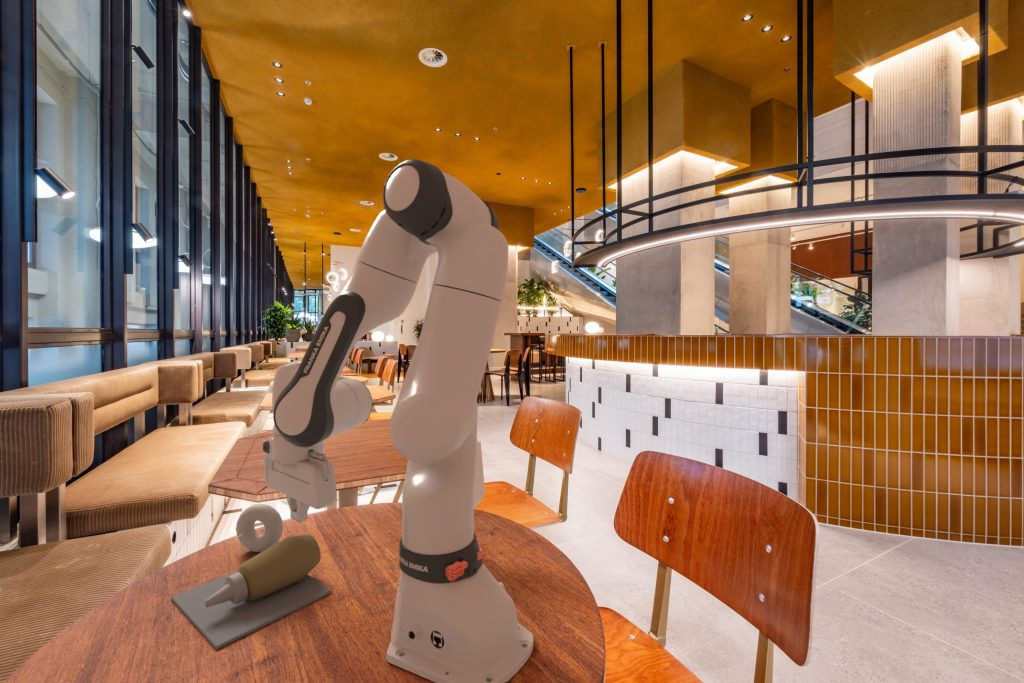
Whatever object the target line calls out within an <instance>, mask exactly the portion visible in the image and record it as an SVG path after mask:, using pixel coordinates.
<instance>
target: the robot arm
mask: <svg viewBox="0 0 1024 683" xmlns="http://www.w3.org/2000/svg"><path fill="white" fill-rule="evenodd" d="M382 204H383V208H384V209H383V210H382V211H381V212H379V214H378V215H377V217H376V218H375V220H374V221H373V223H372V224H371V226H370V229H369V230H368V232H367V234H366V236H365V238H364V240H363V242H362V245H361V247H360V249H359V251H358V254H357V257H356V260H355V263H354V266H353V268H352V271H351V273H350V275H349V276H348V279H347V280H346V282H345V284H344V286H343V288H342V289H341V290H340V292H339V294H337V296H336V297H335V298H334V299H333V300H332V302H331V303H330V304H329V306H328V307H327V309H326V311H325V312H324V314H323V315H322V318H321V320H320V322H319V324H318V326H317V328H316V330H315V332H314V335H313V337H312V339H311V341H310V343H309V345H308V347H307V350H306V351H305V353H304V355H303V358H302V360H299V361H298V360H296V361H290V362H286V363H283V364H282V365H280V366H278V367H277V369H276V371H275V373H274V374H275V375H274V377H273V382H272V392H271V393H272V397H271V402H272V403H271V407H272V408H271V409H272V415H273V416H272V417H273V423H274V424H273V427H272V432H271V434H272V436H271V438H267V439H265V440H263V441H261V451H262V452H263V453H264V455H263V472H264V473H263V474H264V475H263V476H264V481H265V484H266V486H267V487H268V488H270V489H273V490H274V491H277V492H279V493H280V494H283V495H285V496H286V502H287V505H288V508H289V510H290V516H289V517H290V519H292V520H294V521H295V522H298V523H303V522H306V521H307V520H308V514H309V513H308V512H309V510H310V507H311V508H314V509H316V510H320V509H325V508H326V507H329V506H332V505H334V504H335V502H336V500H337V486H336V485H337V484H336V474H335V469H334V466H333V464H332V463H331V462H330V460H328V457H327V455H326V454H325V441H326V439H328V438H331V437H334V436H336V435H340V434H342V433H345V432H347V431H348V432H349V431H350V430H352V429H355V428H358V427H359V426H362V425H363V424H364V423H366V422H367V420H368V419H369V418H370V416H371V415H372V411H373V397H372V393H371V391H370V389H369V388H368V387H367V385H366V384H365V383H364V382H362V381H360V380H359V379H355V378H350V377H347V376H344V375H342V373H343V370H344V368H345V366H346V363H347V362H348V359H349V358H350V356H351V353H352V351H353V349H354V348H355V346H356V345H357V343H358V342H359V341H360V340H361V339H362V338H363V337H364V336H366V335H367V334H368V333H370V332H371V331H373V330H375V329H377V328H379V327H380V326H382V325H384V324H387V323H390V322H391V321H394V320H395V319H398V318H399V317H400V316H401V315H402V314H404V312H405V310H406V309H407V307H408V306H409V305H410V303H411V300H412V299H413V296H414V295H415V291H416V289H417V286H418V282H419V280H420V278H421V274H422V271H423V268H424V267H425V264H426V261H427V260H428V258H429V257H430V256H431V255H433V254H435V253H436V252H437V257H438V259H437V266H436V270H435V274H434V278H433V282H432V286H431V290H430V294H429V298H428V303H427V306H426V311H425V315H424V319H423V324H422V327H421V331H420V336H419V338H418V341H417V345H416V346H415V349H414V352H413V354H412V357H411V360H410V363H409V365H408V367H407V370H406V373H405V377H404V379H403V383H402V385H401V388H400V392H399V393H398V394H399V395H398V398H397V401H396V404H395V406H394V409H393V411H392V413H391V416H390V419H389V427H388V431H389V437H390V440H391V443H392V445H393V447H394V448H395V450H396V451H397V452H398V453H399V455H401V456H402V457H403V458H404V459H406V460H407V465H406V470H405V471H406V472H405V477H404V483H403V486H402V492H401V494H402V496H401V498H402V499H401V500H402V504H401V505H402V506H401V508H402V510H401V511H402V513H401V515H402V520H401V521H402V523H401V524H402V525H401V526H402V528H401V532H402V533H401V534H402V536H401V538H400V540H399V549H398V554H397V555H398V565H399V569H400V578H399V582H398V587H397V591H396V593H395V594H396V595H395V603H394V605H395V606H394V612H393V622H392V627H391V630H390V642H389V644H388V647H387V651H386V657H385V659H386V661H387V663H389V664H392V665H394V666H396V667H398V668H400V669H402V670H405V671H407V672H410V673H413V674H415V675H417V676H420V677H421V678H425V679H427V680H429V681H431V682H434V683H505V682H506V683H508V682H509V681H510V680H511V679H512V677H514V676H515V675H516V674H518V672H519V671H520V670H521V669H522V667H524V665H525V664H526V663H527V661H529V658H530V657H531V654H532V652H533V650H534V646H535V645H534V644H535V643H534V642H535V640H534V634H533V633H532V632H531V631H530V630H529V629H527V628H526V627H524V626H523V625H522V624H521V623H519V621H518V612H517V608H516V604H515V602H514V600H513V598H512V597H511V596H510V595H509V594H508V593H507V590H506V586H505V584H504V583H503V582H500V581H498V580H497V579H496V578H495V577H494V576H493V574H492V573H491V571H490V570H489V569H487V568H488V567H486V565H484V563H483V561H484V560H483V558H484V557H487V555H488V553H486V552H487V551H488V547H484V548H483V549H481V548H480V545H479V541H478V538H477V536H476V533H475V532H474V531H475V530H474V529H475V526H474V525H475V520H474V518H475V507H474V478H475V461H476V441H477V439H478V438H477V437H478V412H479V410H478V408H479V406H478V397H479V393H480V389H481V385H482V382H483V378H484V374H485V370H486V367H487V363H488V361H489V357H490V353H491V348H492V345H493V340H494V337H495V336H494V335H495V333H496V328H497V323H498V321H499V320H498V319H499V316H500V311H501V307H502V301H503V298H504V295H505V294H504V293H505V289H506V288H505V287H506V284H507V283H506V282H507V275H508V267H509V266H508V265H509V264H508V263H509V244H508V243H509V242H508V240H507V238H506V237H505V235H504V234H503V233H502V232H501V231H500V222H499V218H498V216H497V215H496V212H495V211H494V209H493V208H492V207H491V205H490V204H488V202H486V200H484V199H481V198H480V197H479V196H478V195H477V194H475V192H473V191H472V190H471V189H470V188H468V186H467V185H466V184H465V183H463V182H462V181H460V180H458V179H457V178H456V177H453V176H452V175H450V174H449V173H446V172H445V171H442V170H441V169H440V168H439V167H438V166H437V165H434V164H432V163H430V162H427V161H424V160H420V159H412V158H411V159H410V158H409V159H406V160H404V161H402V162H400V163H399V164H397V166H395V167H394V168H393V169H392V170H391V172H390V173H389V175H388V176H387V178H386V180H385V182H384V186H383V191H382ZM480 549H481V551H480Z"/></svg>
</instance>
